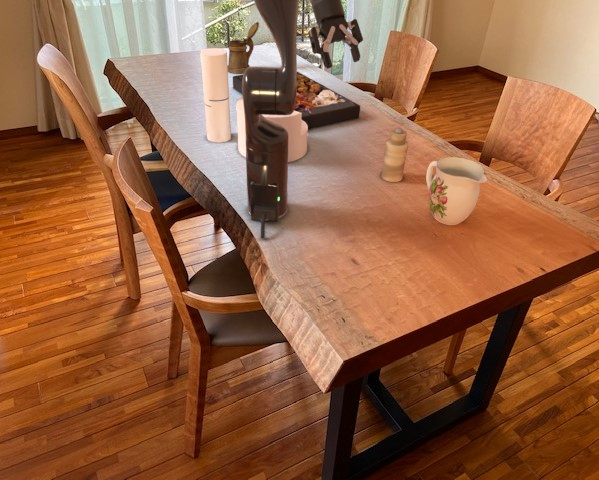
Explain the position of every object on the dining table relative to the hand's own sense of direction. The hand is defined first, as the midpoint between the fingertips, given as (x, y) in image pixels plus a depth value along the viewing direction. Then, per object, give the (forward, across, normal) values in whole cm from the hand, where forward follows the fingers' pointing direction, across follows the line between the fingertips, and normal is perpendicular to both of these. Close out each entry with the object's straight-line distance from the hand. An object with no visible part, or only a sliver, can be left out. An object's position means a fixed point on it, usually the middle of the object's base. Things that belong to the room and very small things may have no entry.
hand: (343, 64), depth 131 cm
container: (+15, -18, +20) cm, 31 cm away
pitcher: (+43, +3, -21) cm, 48 cm away
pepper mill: (+32, +2, -4) cm, 32 cm away
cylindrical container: (+7, -30, +30) cm, 43 cm away
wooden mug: (-21, +3, +81) cm, 83 cm away
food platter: (0, +4, +46) cm, 47 cm away
